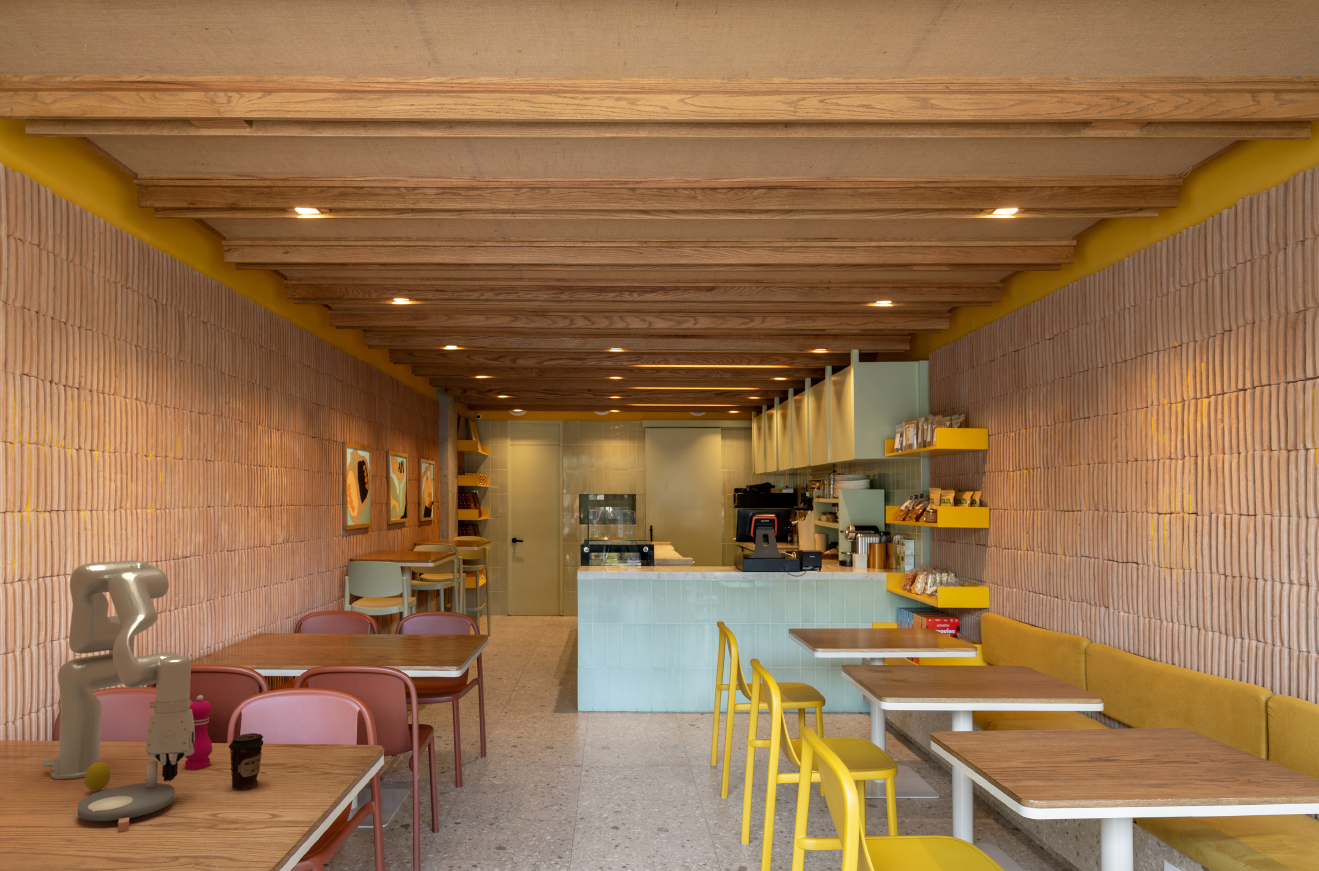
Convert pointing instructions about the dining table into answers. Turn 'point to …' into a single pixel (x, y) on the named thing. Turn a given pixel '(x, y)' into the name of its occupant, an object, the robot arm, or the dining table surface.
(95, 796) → the turntable
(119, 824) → the pink rectangular block
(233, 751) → the coffee cup
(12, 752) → the dining table surface
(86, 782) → the lemon
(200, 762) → the pepper mill
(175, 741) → the robot arm
